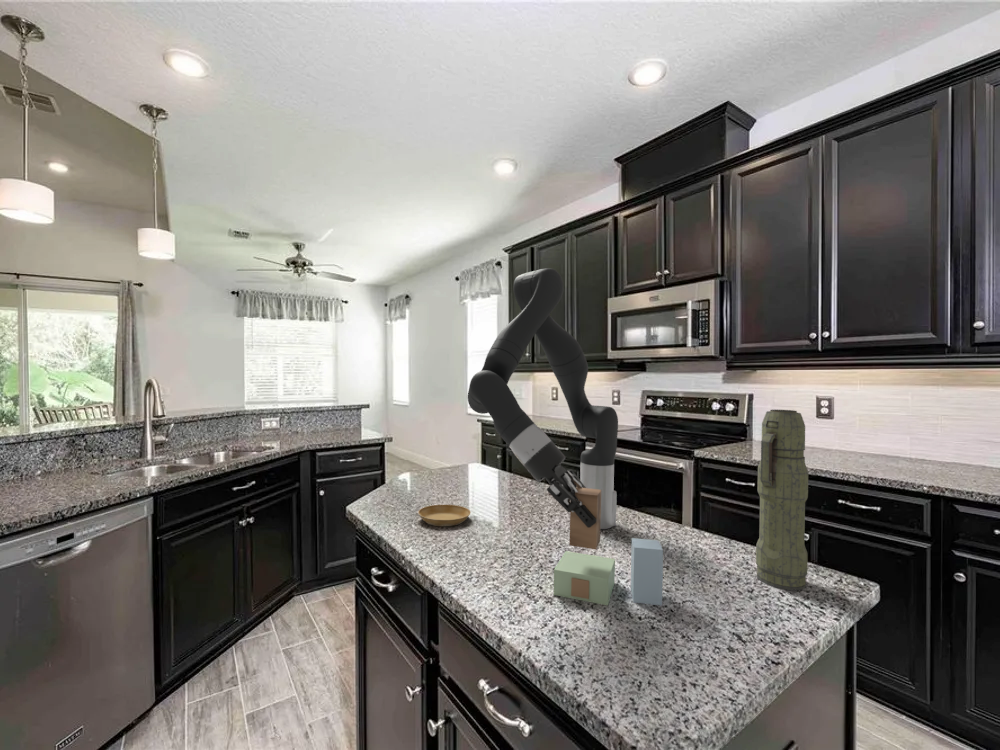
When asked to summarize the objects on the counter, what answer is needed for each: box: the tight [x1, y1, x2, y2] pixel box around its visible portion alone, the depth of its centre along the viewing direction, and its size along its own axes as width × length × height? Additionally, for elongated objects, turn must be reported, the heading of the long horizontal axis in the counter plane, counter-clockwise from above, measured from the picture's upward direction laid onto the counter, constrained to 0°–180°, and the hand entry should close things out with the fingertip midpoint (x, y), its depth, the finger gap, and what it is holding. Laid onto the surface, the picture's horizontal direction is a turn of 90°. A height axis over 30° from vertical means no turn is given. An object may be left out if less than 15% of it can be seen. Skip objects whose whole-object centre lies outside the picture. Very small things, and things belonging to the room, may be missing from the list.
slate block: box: [630, 537, 664, 606], centre depth 84 cm, size 5×5×10 cm
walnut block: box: [569, 487, 601, 550], centre depth 87 cm, size 5×5×10 cm
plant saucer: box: [417, 504, 471, 527], centre depth 128 cm, size 15×15×3 cm
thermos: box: [755, 409, 809, 591], centre depth 93 cm, size 9×12×35 cm
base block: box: [553, 550, 616, 606], centre depth 87 cm, size 10×10×5 cm
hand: (595, 520), depth 86 cm, fingers closed on walnut block, 5 cm apart
